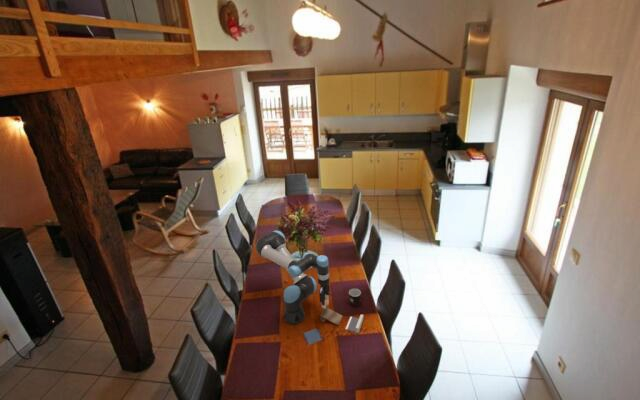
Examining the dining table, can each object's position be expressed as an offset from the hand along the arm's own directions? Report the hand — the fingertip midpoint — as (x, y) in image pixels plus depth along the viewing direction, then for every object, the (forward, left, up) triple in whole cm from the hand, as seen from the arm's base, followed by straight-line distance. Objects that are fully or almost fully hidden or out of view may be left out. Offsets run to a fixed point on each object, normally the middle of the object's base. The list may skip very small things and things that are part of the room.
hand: (325, 305), depth 230 cm
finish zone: (+20, 0, -11) cm, 23 cm away
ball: (0, 0, +2) cm, 2 cm away
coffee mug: (+16, +19, -12) cm, 28 cm away
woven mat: (-3, -19, -12) cm, 23 cm away
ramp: (+4, 0, -11) cm, 12 cm away
